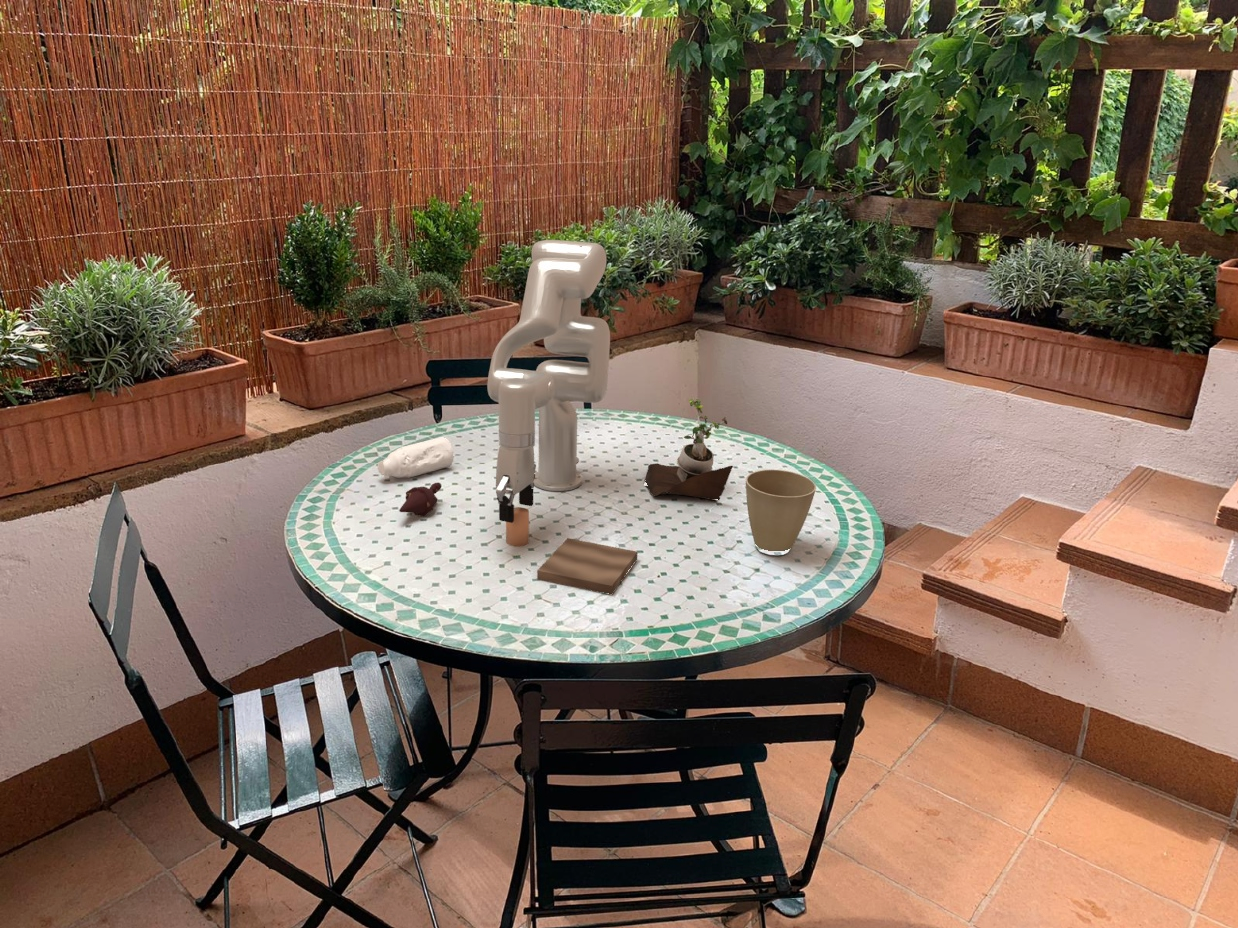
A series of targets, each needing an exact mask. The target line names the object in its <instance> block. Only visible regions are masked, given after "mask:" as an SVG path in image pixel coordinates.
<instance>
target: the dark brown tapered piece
mask: <svg viewBox="0 0 1238 928" xmlns="http://www.w3.org/2000/svg"><path fill="white" fill-rule="evenodd" d="M441 489H442V483H440V482H434V483H432V484H431V485H430V486H429V488H428V487H426V486H414V487H412V488H410V489H409V490H407V491H406V492H405V501H404V502H403V504H402V505H401V506H400V508H399V509H398V511H399V512H400V513H412V514H413V515H414V516H419V515H420V516H419V517H427V516H428V514H429V513H431V511H434V507H435V506H436V505H437V503H438V501H439V499H438V497H437V496H436V494H437V493H438V492H439V491H440V490H441Z"/></svg>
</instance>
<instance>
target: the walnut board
mask: <svg viewBox="0 0 1238 928" xmlns="http://www.w3.org/2000/svg"><path fill="white" fill-rule="evenodd" d="M636 560H637V561H638V551H637V550H632V549H631V550H630V549H626V548H621V547H617V546H611V545H605V544H601V543H595V542H590V541H584V540H580V539H575V538H570V537H569V538H568V537H566V539H565V540H564V541H563V542H562V543H561V544H560V545H559V546H558V547H557V549H555V551H554V552H553V553H552V554H551V555H550V556H549V557H548V558H547V559H546V561H544V563H542V565H541V566H540V567H539V568H538V569H537V572H536V577H537V578H536V579H537V580H539V581H545V582H550V583H554V584H557V585H563V586H567V587H573V588H578V589H581V590H586V591H591V590H592V592H596V591H598V592H597V593H600V592H604V593H603V594H605V593H609V594H608V595H610V594H612V593H613V594H614V592H615V591H616V590H617V588H618V587H619V586H620V584H621V583H622V581H623V580H624V579H625V577H626V576H627V575H626V573H627V572H628V570H629V569H630V568H631V566H632V565H633V563H634V562H635V561H636ZM637 561H636V562H637ZM636 562H635V563H636ZM633 566H634V565H633ZM633 566H632V567H633ZM631 569H632V568H631ZM631 569H630V570H631ZM630 570H629V571H630ZM628 573H629V572H628ZM628 573H627V574H628ZM625 575H626V576H625ZM624 576H625V577H624ZM623 578H624V579H623ZM622 579H623V580H622ZM621 580H622V581H621ZM620 582H621V583H620ZM619 583H620V584H619ZM617 586H618V587H617ZM615 589H616V590H615ZM614 590H615V591H614ZM613 591H614V592H613ZM613 594H612V595H613Z"/></svg>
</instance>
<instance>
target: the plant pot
mask: <svg viewBox="0 0 1238 928" xmlns="http://www.w3.org/2000/svg"><path fill="white" fill-rule="evenodd" d="M816 490H817V485H816V483H815V482H814V481H813V480H812V479H810V478H809V477H807V476H805V475H803V474H800V473H796V472H793V471H789V470H782V469H761V470H757V471H754V472H751V473H749V474H748V475H746V477H745V493H746V505H747V506H746V507H747V513H748V520H749V525H750V531H751V535H752V539H753V543H754V545H755V544H756V545H757V546H758V547H759V548H761V549H764V550H768V551H785V550H788V549H790V548H791V547H792V548H793V546H794V544H795V542H796V541H797V539H798V537H799V535H800V534H801V531H802V528H803V526H804V524H805V523H806V520H807V517H808V514H809V511H810V509H811V506H812V503H813V500H814V497H815V493H816ZM792 548H791V549H792Z"/></svg>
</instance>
